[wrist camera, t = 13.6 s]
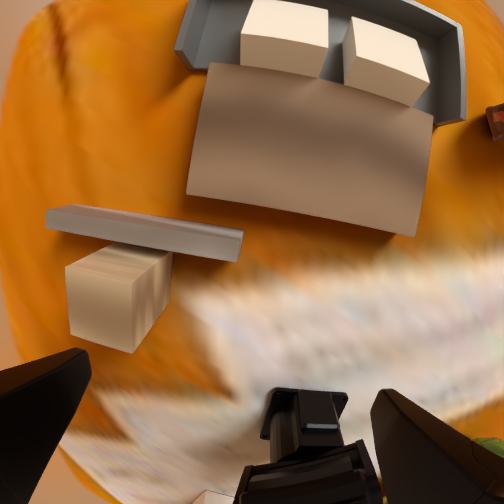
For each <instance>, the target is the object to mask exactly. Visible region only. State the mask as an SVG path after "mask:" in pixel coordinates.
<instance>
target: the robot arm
mask: <svg viewBox="0 0 504 504" xmlns="http://www.w3.org/2000/svg"><path fill="white" fill-rule="evenodd" d="M91 375H92V370H91V365H90V360H89V355H88V352H87V351H86V350H83V349H80V348H72V349H69V350H66V351H63V352H60V353H57V354H54V355H50V356H47V357H44V358H41V359H38V360H35V361H31V362H28V363H25V364H22V365H18V366H15V367H12V368H8V369H5V370H2V371H0V504H28V503H29V501H30V498H31V496H32V494H33V492H34V490H35V488H36V486H37V484H38V482H39V480H40V478H41V476H42V474H43V472H44V470H45V468H46V466H47V464H48V462H49V460H50V458H51V456H52V455H53V453H54V451H55V449H56V447H57V445H58V443H59V442H60V440H61V438H62V436H63V434H64V433H65V431H66V429H67V427H68V425H69V424H70V422H71V420H72V418H73V416H74V415H75V413H76V411H77V408H78V406H79V404H80V402H81V399H82V397H83V395H84V392H85V390H86V388H87V386H88V383H89V381H90V379H91ZM277 393H281V394H277ZM341 398H343V399H341ZM347 401H348V396H347V394H346V393H344V392H325V391H311V390H299V389H289V388H275V389H274V390H273V391H272V394H271V398H270V401H269V405H268V408H267V411H266V415H265V418H264V421H263V425H262V428H261V431H260V438H261V439H264V440H270V464H264V465H257V466H253V465H250V466H245V468H244V471H243V474H242V476H241V479H240V483H239V486H238V489H237V492H236V495H235V498H234V501H233V504H383V498H382V493H381V489H380V485H379V481H378V478H377V475H376V472H375V469H374V467H373V464H372V461H371V459H370V456H369V454H368V451H367V449H366V446H365V444H364V441H363V439H361V440H358V441H355V443H352V444H349V445H346V446H345V445H344V441H343V437H342V434H341V430H340V424H339V418H340V416H341V414H342V412H343V410H344V408H345V405H346V403H347ZM370 415H371V422H372V429H373V436H374V444H375V451H376V456H377V460H378V464H379V468H380V472H381V477H382V481H383V485H384V489H385V494H386V498H387V503H388V504H504V458H503V457H501V456H499V455H497V454H495V453H493V452H491V451H490V450H488V449H486V448H484V447H483V446H481V445H479V444H478V443H476V442H475V441H473V440H471V439H470V438H468V437H466V436H465V435H463V434H462V433H460V432H458V431H457V430H455V429H454V428H452V427H451V426H449V425H447V424H446V423H444V422H443V421H441V420H440V419H438V418H437V417H435V416H433V415H432V414H430V413H429V412H427V411H426V410H424V409H423V408H421V407H420V406H418V405H417V404H415V403H414V402H412V401H411V400H409V399H408V398H406V397H405V396H403V395H402V394H400V393H399V392H397V391H396V390H394V389H381V390H380V391H379V392H378V394H377V397H376V399H375V401H374V403H373V406H372V408H371V412H370Z"/></svg>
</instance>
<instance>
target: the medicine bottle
mask: <svg viewBox="0 0 504 504" xmlns="http://www.w3.org/2000/svg"><path fill="white" fill-rule="evenodd" d="M233 501H234V497H230V496H226V495H222V494H218V493H215V492H211V491H208V490H206V491H204V492H203V493H202V494H201V495H200V496H199V497H198V498H197V499H196V500H195V501H194V502H193V503H192V504H233Z"/></svg>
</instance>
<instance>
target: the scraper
mask: <svg viewBox="0 0 504 504" xmlns="http://www.w3.org/2000/svg"><path fill="white" fill-rule="evenodd" d="M46 228H48V229H53V230H59V231H64V232H69V233H74V234H80V235H85V236H90V237H96V238H101V239H107V240H112V241H117V242H115V243H112V244H110V245H108V246H106V247H104V248H102V249H100V250H98V251H96V252H94V253H92V254H90V255H88V256H86V257H84V258H82V259H80V260H78V261H76V262H74V263H72V264H70V265H68V266H66V267H65V278H66V294H67V306H68V316H69V324H70V332H71V335H74V336H77V337H80V338H82V339H85V340H88V341H91V342H94V343H98V344H101V345H104V346H107V347H110V348H114V349H117V350H120V351H124V352H127V353H131V354H133V353H134V351H135V350H136V349H137V347H138V346H139V344H140V343H141V341H142V340H143V339H144V337H145V336H146V334H147V333H148V331H149V330H150V329H151V327H152V326H153V324H154V323H155V322H156V320H157V319H158V317H159V316H160V315H161V313H162V312H163V310H164V309H165V308H166V306H167V305H168V303H169V302H170V288H171V275H172V263H173V252H179V253H184V254H190V255H196V256H202V257H207V258H213V259H219V260H225V261H231V262H237V261H238V258H239V254H240V251H241V248H242V241H243V235H244V230H242V229H236V228H230V227H224V226H218V225H212V224H205V223H199V222H193V221H186V220H180V219H173V218H167V217H160V216H153V215H147V214H140V213H133V212H126V211H119V210H112V209H105V208H98V207H90V206H83V205H76V204H73V205H68V206H63V207H58V208H53V209H49V210H46Z"/></svg>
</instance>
